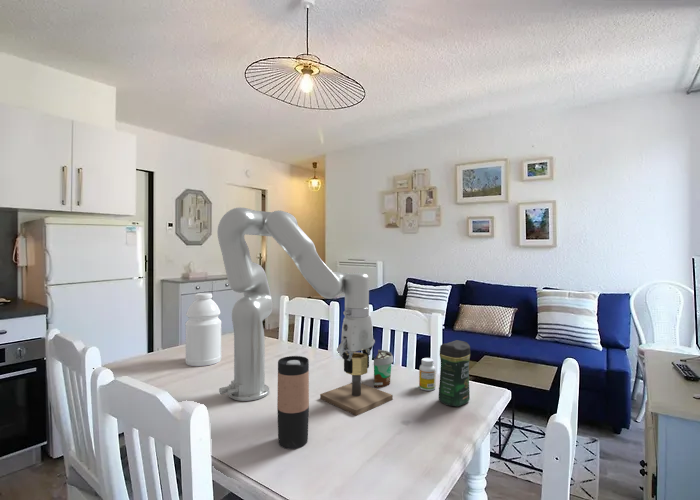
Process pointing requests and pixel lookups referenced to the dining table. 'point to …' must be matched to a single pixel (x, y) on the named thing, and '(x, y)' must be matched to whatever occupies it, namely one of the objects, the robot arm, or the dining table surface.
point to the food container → (382, 368)
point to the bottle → (203, 332)
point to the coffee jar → (454, 373)
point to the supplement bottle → (427, 375)
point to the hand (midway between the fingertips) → (356, 369)
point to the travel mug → (293, 401)
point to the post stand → (356, 397)
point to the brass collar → (359, 364)
